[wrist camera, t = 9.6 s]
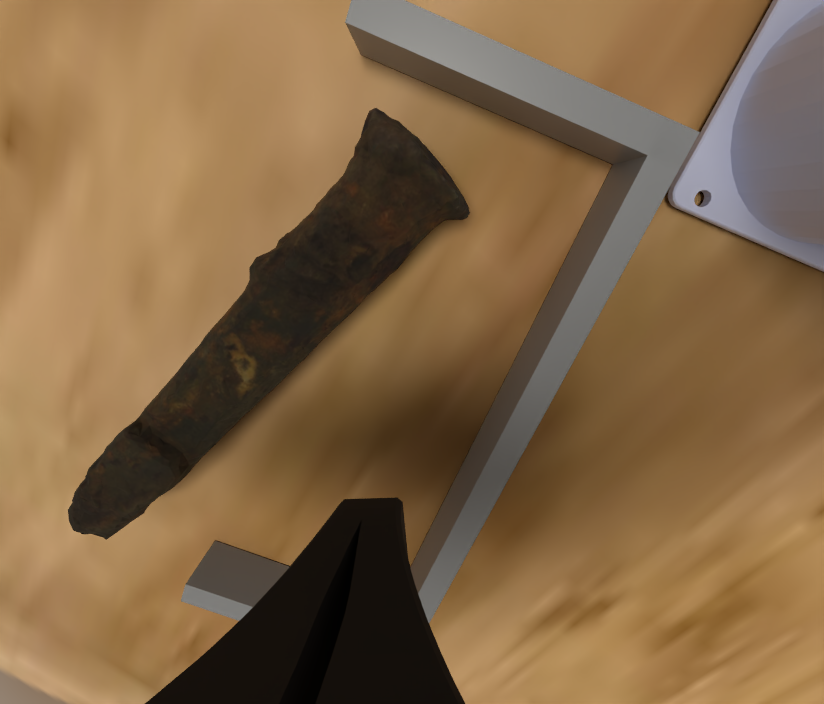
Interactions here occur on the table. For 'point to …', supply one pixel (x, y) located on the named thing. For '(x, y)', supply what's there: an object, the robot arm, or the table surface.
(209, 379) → the hand tool
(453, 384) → the table surface
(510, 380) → the u-shaped frame
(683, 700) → the table surface
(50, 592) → the table surface
